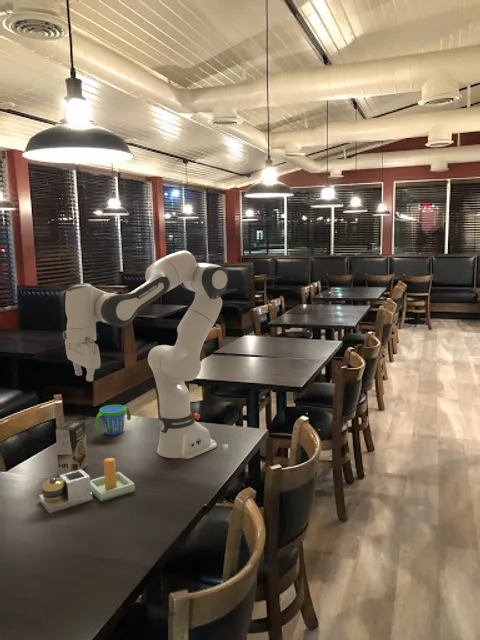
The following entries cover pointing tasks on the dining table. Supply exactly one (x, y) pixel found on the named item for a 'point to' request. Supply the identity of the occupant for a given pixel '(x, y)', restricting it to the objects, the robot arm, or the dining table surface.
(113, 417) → the snack cup
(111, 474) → the pin
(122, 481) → the tray
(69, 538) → the dining table surface
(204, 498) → the dining table surface
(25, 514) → the dining table surface
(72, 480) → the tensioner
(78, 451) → the coffee box
